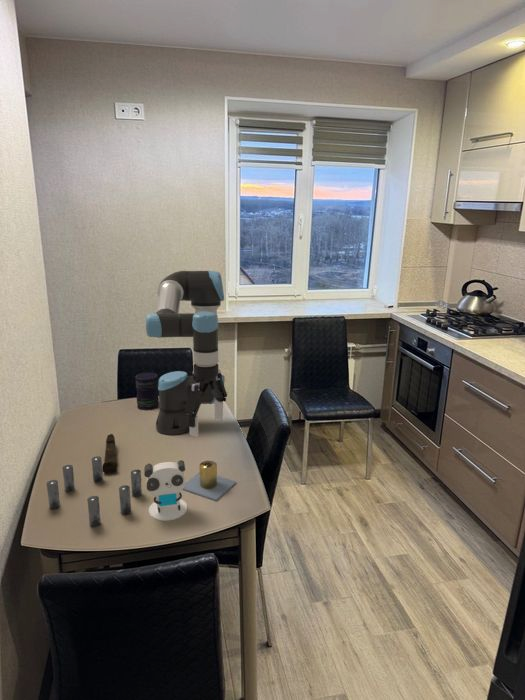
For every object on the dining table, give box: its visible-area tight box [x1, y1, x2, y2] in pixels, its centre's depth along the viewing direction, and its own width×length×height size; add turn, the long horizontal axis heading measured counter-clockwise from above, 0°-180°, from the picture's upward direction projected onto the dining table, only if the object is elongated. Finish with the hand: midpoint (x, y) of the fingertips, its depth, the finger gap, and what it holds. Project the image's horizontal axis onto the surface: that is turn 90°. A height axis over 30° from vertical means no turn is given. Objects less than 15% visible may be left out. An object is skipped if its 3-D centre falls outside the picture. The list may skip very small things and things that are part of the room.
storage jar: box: [135, 372, 159, 411], centre depth 218 cm, size 10×10×15 cm
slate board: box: [182, 471, 237, 502], centre depth 155 cm, size 12×14×1 cm
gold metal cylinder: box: [198, 460, 218, 489], centre depth 154 cm, size 6×6×7 cm
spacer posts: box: [46, 455, 143, 528], centre depth 145 cm, size 20×27×8 cm
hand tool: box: [102, 433, 118, 475], centre depth 171 cm, size 23×5×6 cm, turn 13°
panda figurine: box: [143, 459, 188, 522], centre depth 141 cm, size 12×11×15 cm
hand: (206, 427), depth 150 cm, fingers open, 13 cm apart
